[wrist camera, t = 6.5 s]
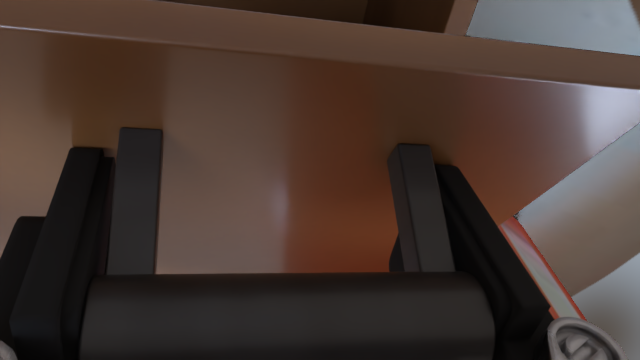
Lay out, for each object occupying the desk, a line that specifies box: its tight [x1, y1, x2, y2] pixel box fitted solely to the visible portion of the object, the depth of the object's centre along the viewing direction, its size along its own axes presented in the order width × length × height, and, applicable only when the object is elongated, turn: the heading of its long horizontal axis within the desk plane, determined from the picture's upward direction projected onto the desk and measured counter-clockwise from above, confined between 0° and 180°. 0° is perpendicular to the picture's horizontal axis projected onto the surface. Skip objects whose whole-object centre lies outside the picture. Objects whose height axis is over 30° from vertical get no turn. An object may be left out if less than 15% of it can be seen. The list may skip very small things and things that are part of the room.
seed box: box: [158, 0, 478, 36], centre depth 21 cm, size 17×14×9 cm
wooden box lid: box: [0, 0, 640, 360], centre depth 14 cm, size 17×14×5 cm
